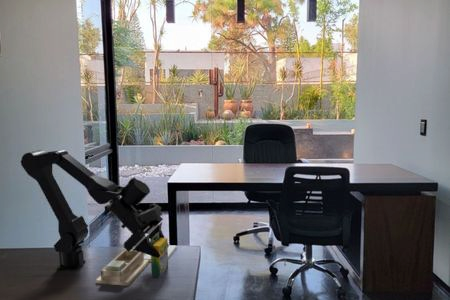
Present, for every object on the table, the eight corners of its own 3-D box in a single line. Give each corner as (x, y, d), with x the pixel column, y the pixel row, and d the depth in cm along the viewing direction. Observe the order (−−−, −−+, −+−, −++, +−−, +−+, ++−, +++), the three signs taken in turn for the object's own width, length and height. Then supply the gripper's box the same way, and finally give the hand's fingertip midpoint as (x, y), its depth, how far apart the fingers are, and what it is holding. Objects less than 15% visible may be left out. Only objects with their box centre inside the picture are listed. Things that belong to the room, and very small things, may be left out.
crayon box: (160, 277, 122) (159, 240, 120) (151, 277, 122) (149, 239, 121) (168, 267, 129) (167, 232, 127) (159, 266, 129) (158, 231, 128)
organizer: (96, 283, 119) (95, 266, 118) (120, 260, 134) (119, 246, 134) (128, 285, 117) (127, 269, 116) (149, 262, 132) (148, 248, 132)
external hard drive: (176, 249, 145) (165, 264, 132) (155, 248, 146) (141, 262, 134) (176, 245, 144) (164, 259, 132) (154, 244, 146) (141, 257, 134)
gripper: (131, 206, 114) (171, 246, 113) (155, 190, 132) (189, 224, 131) (107, 232, 117) (145, 271, 116) (134, 212, 135) (167, 246, 134)
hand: (163, 251), depth 124 cm, fingers closed on crayon box, 7 cm apart
